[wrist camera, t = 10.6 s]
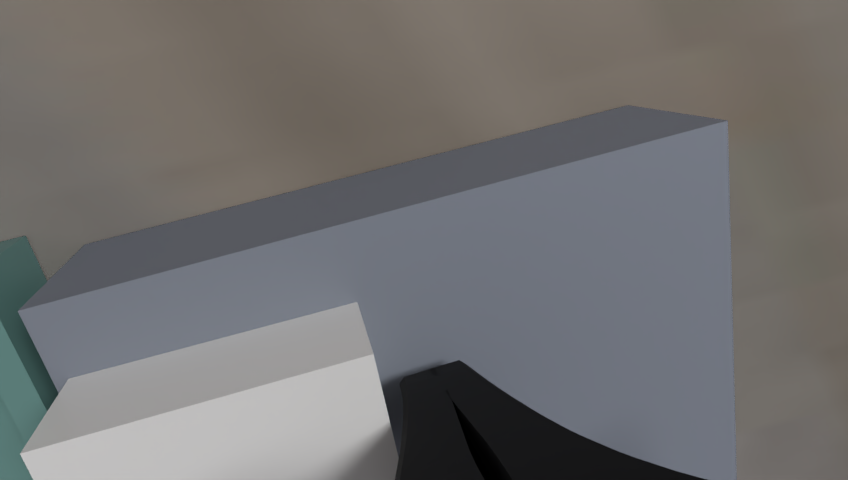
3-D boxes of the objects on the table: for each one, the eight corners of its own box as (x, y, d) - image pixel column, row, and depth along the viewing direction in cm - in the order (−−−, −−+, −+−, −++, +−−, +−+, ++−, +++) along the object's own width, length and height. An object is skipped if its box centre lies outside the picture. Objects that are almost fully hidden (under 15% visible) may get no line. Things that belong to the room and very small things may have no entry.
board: (665, 550, 20) (741, 648, 17) (282, 697, 18) (282, 842, 15) (628, 105, 15) (727, 120, 11) (84, 244, 13) (17, 311, 9)
